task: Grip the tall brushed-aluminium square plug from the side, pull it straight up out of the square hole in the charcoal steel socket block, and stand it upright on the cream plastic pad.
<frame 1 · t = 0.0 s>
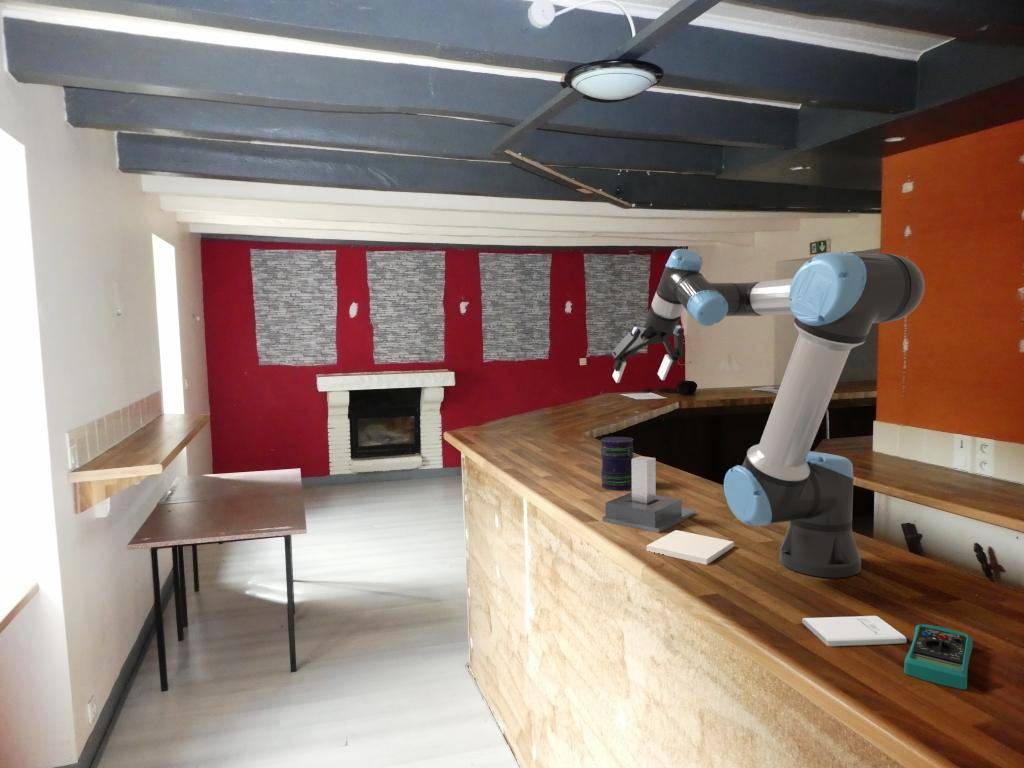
hand: (638, 378, 172), 36 cm above the table, tool tilted 35°, fingers open, 13 cm apart
digital multimeter: (939, 665, 96), on the table
socket block: (643, 520, 168), on the table
cream pad: (690, 548, 146), on the table
external hard drive: (852, 637, 105), on the table
storage jar: (617, 487, 203), on the table
aluminium plug: (643, 516, 168), point 1 cm above the table, touching socket block
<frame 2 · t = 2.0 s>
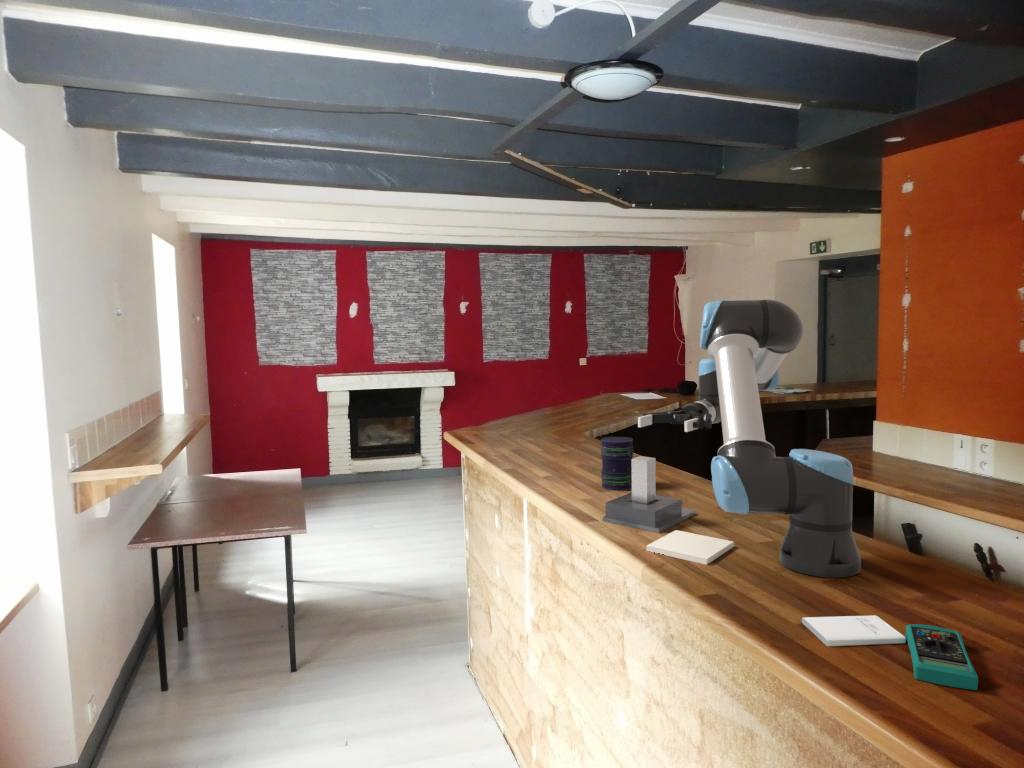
hand: (661, 424, 173), 23 cm above the table, tool horizontal, fingers open, 13 cm apart
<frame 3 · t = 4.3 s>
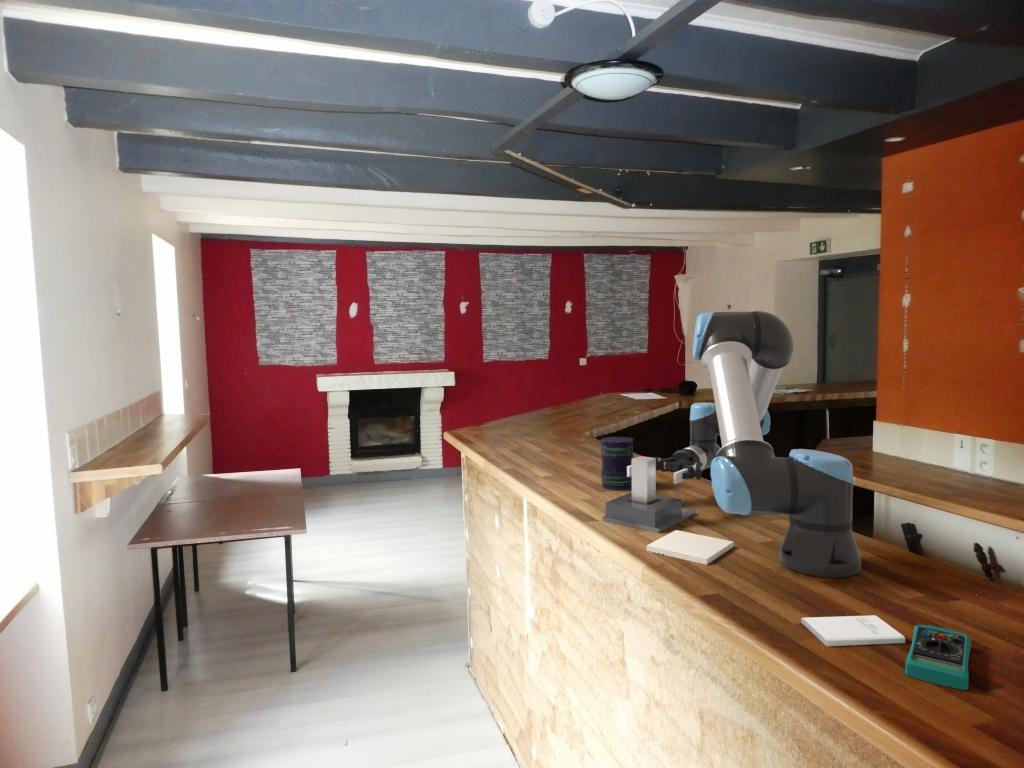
hand: (650, 475, 171), 11 cm above the table, tool horizontal, fingers open, 13 cm apart
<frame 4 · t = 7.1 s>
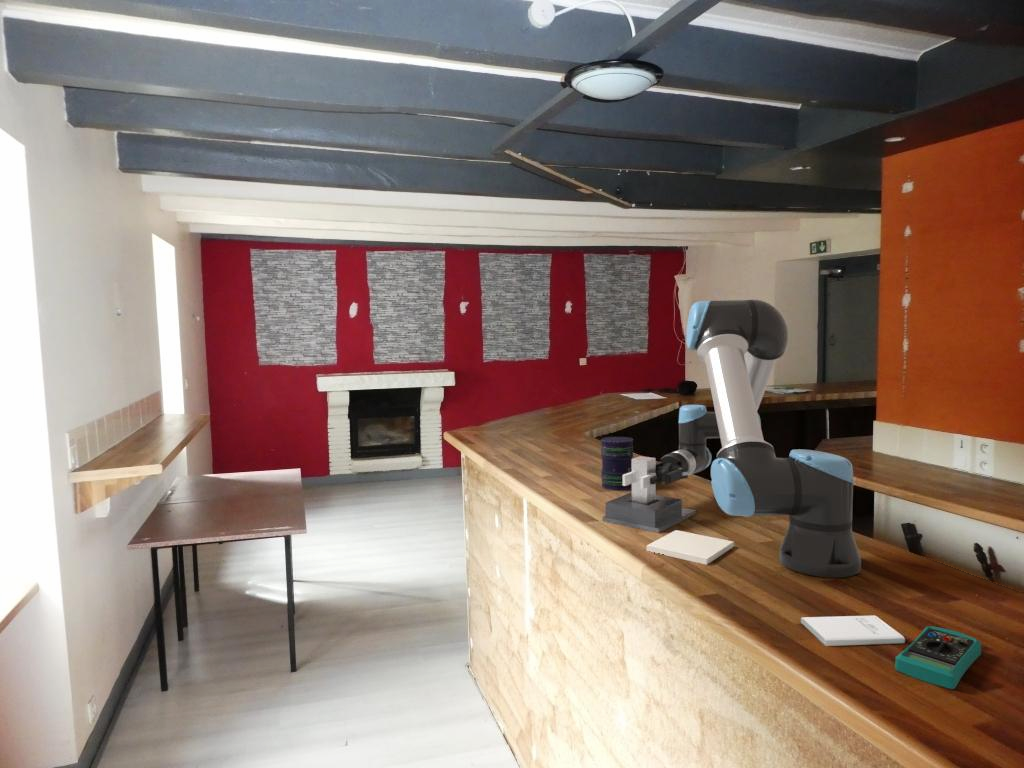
hand: (632, 481, 163), 11 cm above the table, tool horizontal, fingers closed on aluminium plug, 4 cm apart
aluminium plug: (643, 516, 168), point 1 cm above the table, touching gripper, socket block
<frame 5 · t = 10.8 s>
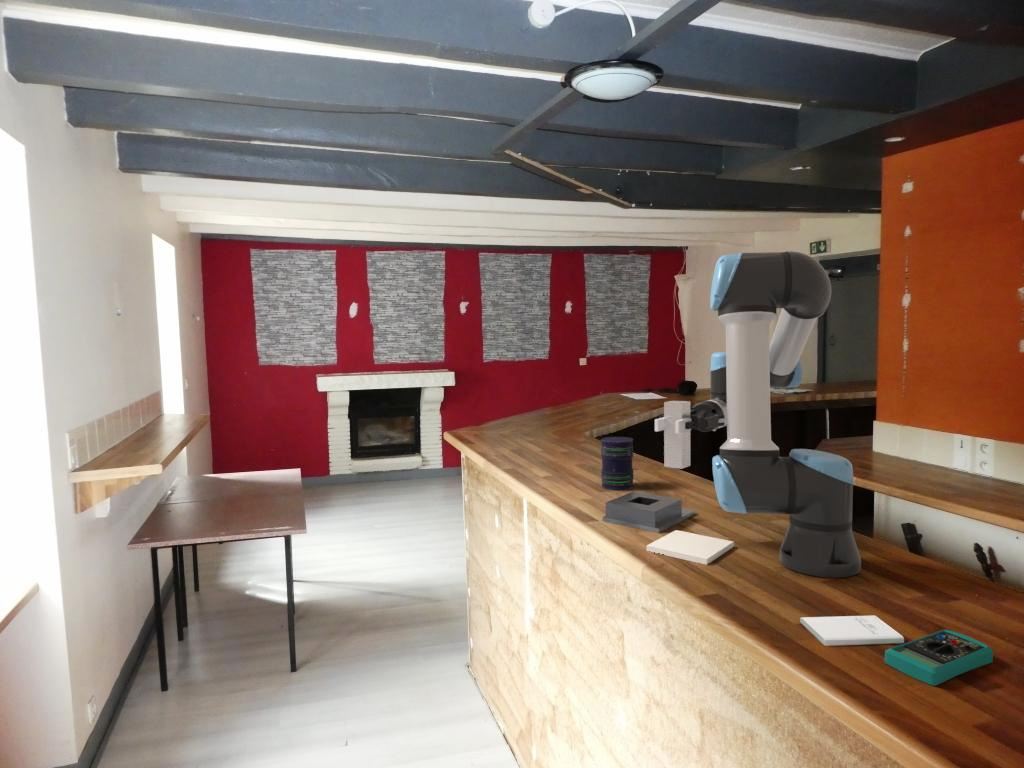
hand: (666, 426, 147), 27 cm above the table, tool horizontal, fingers closed on aluminium plug, 4 cm apart
aluminium plug: (677, 466, 152), point 17 cm above the table, touching gripper
when the fingers open (12 cm above the table, at t = 14.8 s): aluminium plug drops 1 cm, resting on cream pad.
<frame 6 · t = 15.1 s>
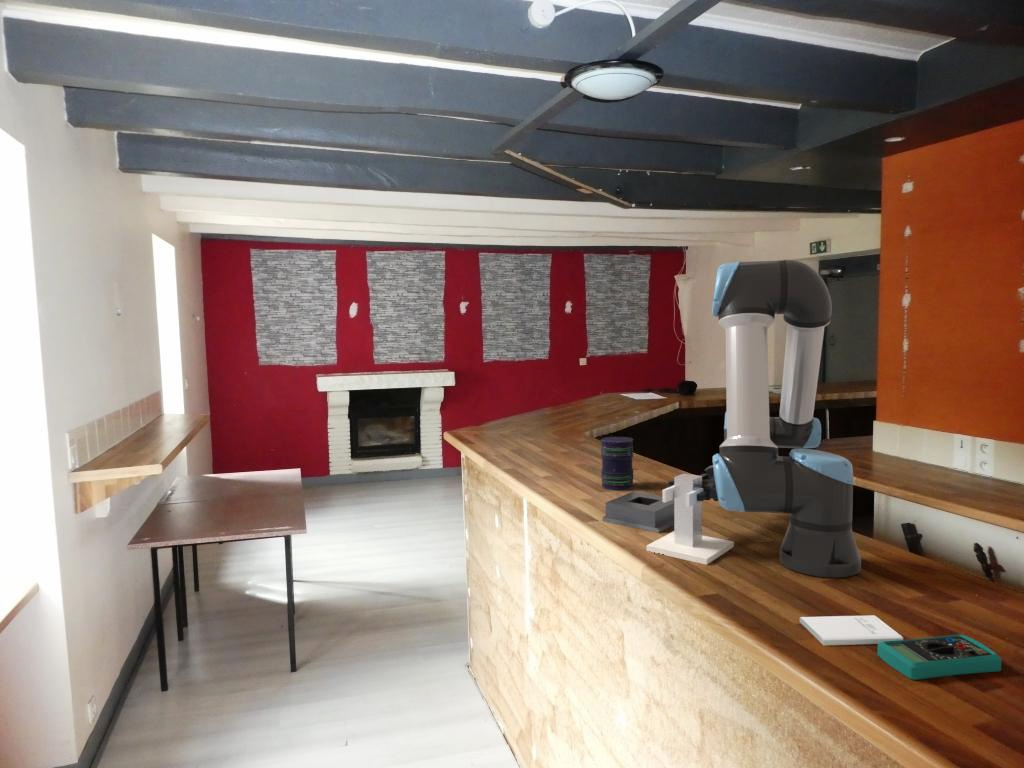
hand: (675, 498, 141), 12 cm above the table, tool horizontal, fingers open, 5 cm apart
aluminium plug: (688, 542, 146), point 1 cm above the table, touching cream pad
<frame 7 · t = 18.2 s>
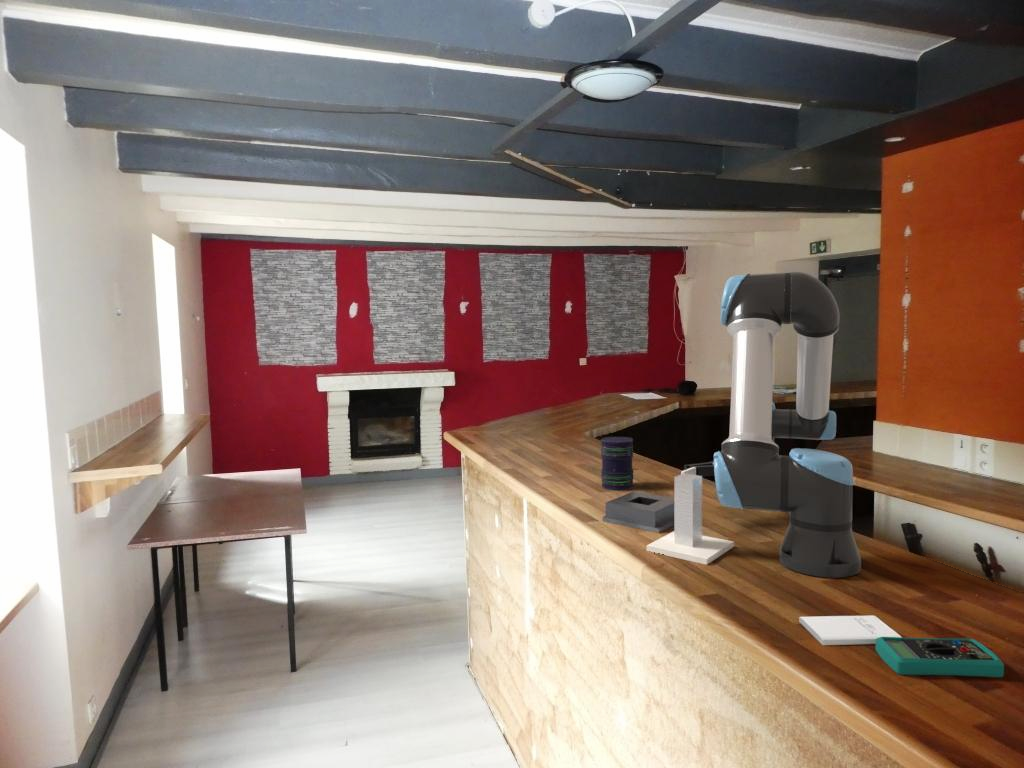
hand: (709, 481, 152), 13 cm above the table, tool horizontal, fingers open, 13 cm apart
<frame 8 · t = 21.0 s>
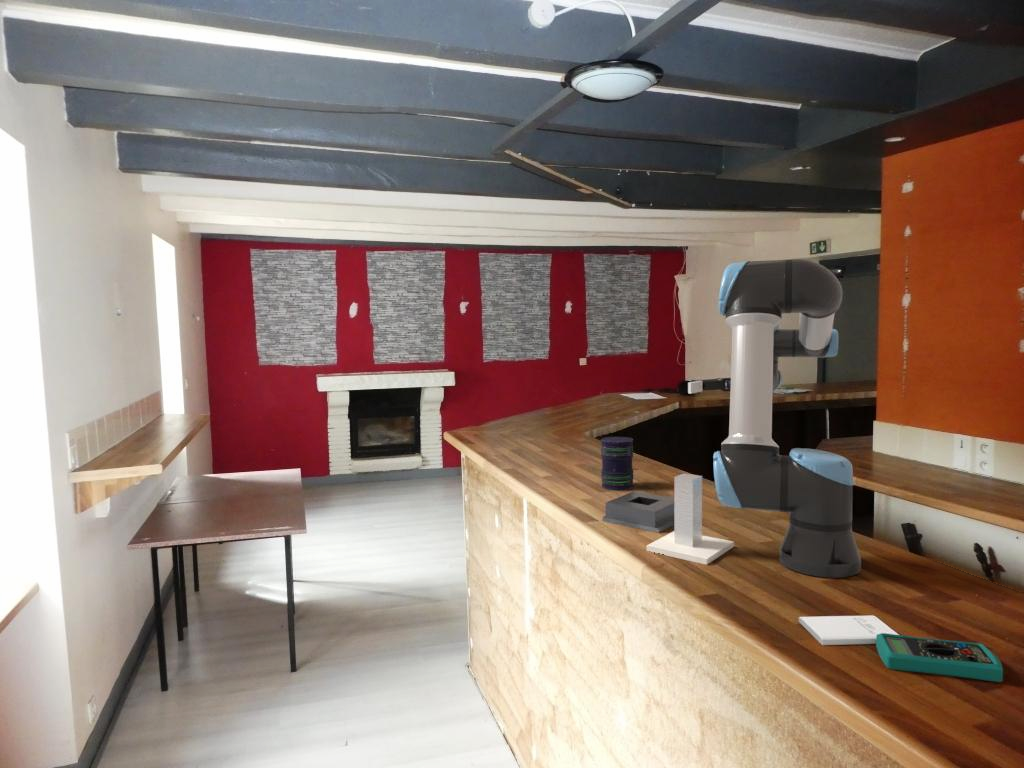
hand: (715, 389, 157), 34 cm above the table, tool horizontal, fingers open, 13 cm apart
at the end: aluminium plug inside the target area on the cream pad (0.7 cm from its centre), point 1.2 cm above the cream pad's base; aluminium plug tilted 0°; the gripper is holding nothing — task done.
